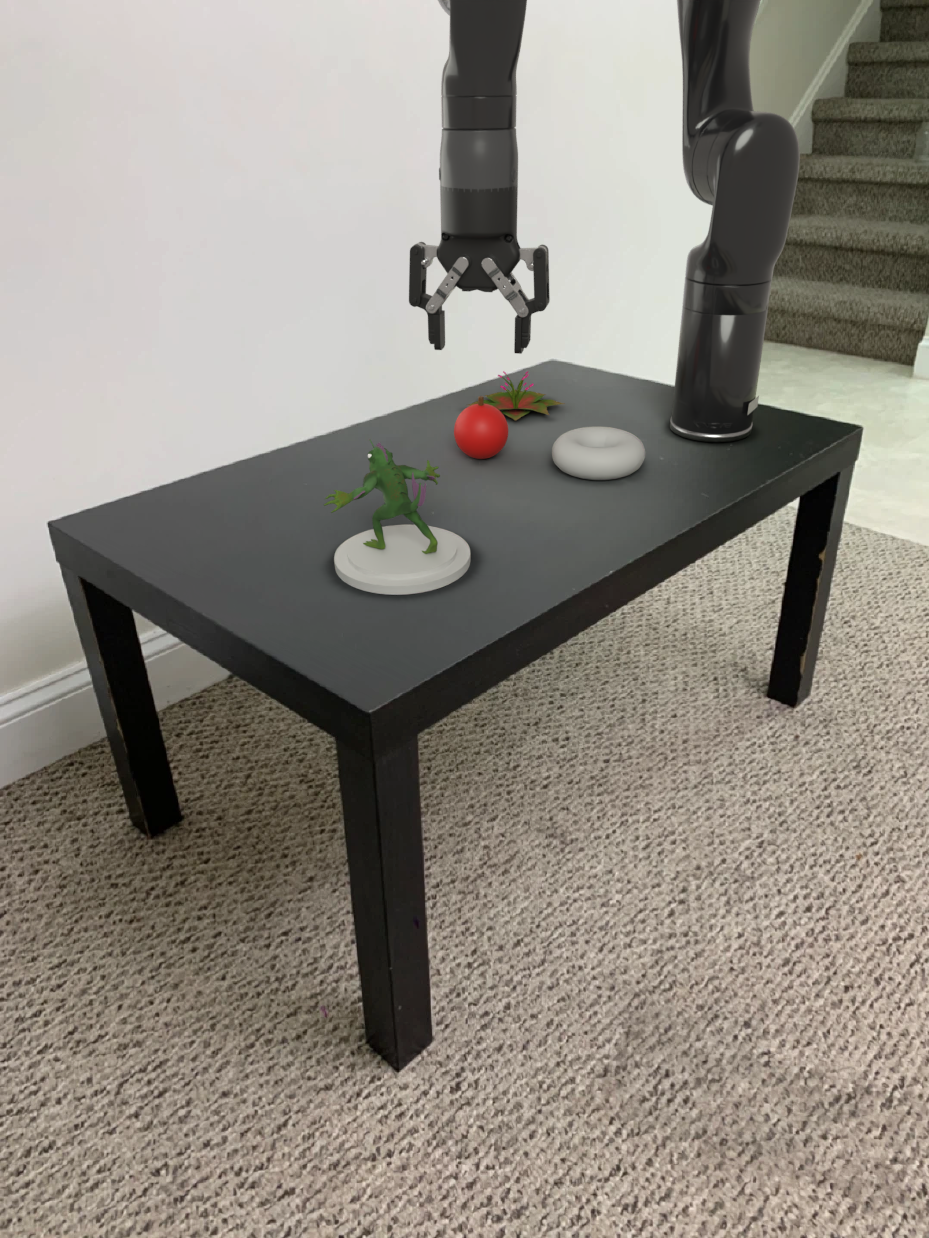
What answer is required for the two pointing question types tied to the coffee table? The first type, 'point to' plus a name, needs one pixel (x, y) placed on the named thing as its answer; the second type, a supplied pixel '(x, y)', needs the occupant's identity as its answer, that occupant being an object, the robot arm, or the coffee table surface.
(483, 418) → the apple
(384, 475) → the monster figurine
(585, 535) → the coffee table surface
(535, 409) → the lily flower
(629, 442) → the donut
